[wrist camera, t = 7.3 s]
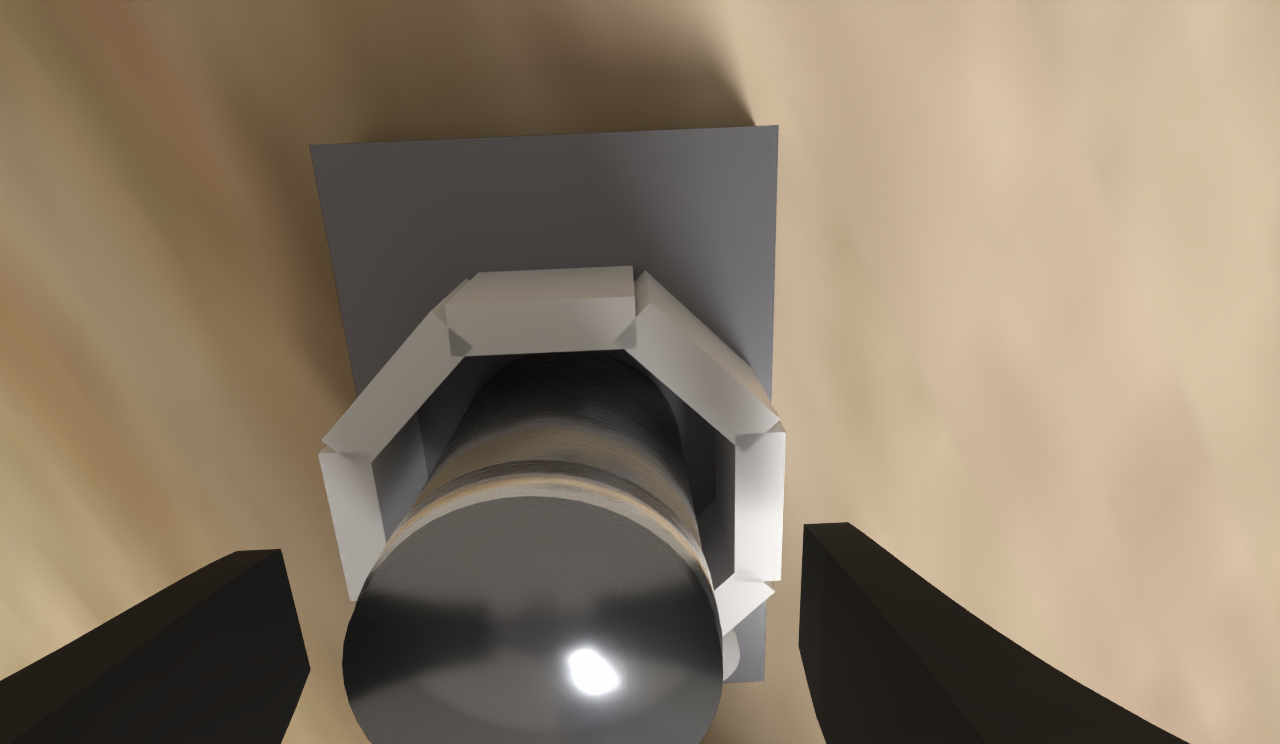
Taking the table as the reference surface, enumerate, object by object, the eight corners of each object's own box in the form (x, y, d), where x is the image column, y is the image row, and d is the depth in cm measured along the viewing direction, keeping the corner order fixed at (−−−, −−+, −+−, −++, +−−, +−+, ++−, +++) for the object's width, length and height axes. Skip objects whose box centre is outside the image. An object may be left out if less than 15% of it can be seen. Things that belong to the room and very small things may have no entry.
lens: (694, 534, 14) (742, 798, 9) (483, 562, 14) (393, 840, 9) (670, 330, 13) (708, 486, 7) (434, 361, 13) (286, 539, 7)
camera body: (749, 622, 17) (789, 778, 13) (437, 637, 17) (377, 799, 13) (756, 126, 14) (817, 122, 9) (353, 143, 13) (229, 147, 9)
